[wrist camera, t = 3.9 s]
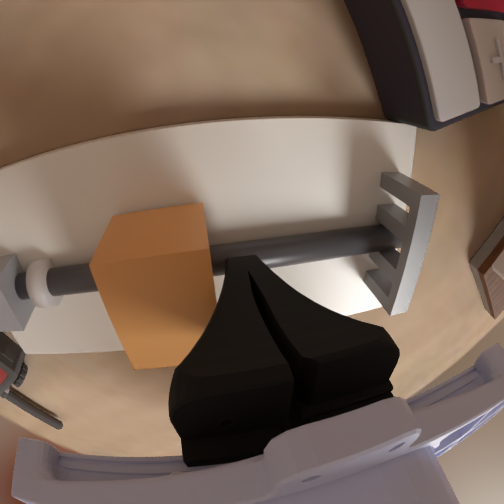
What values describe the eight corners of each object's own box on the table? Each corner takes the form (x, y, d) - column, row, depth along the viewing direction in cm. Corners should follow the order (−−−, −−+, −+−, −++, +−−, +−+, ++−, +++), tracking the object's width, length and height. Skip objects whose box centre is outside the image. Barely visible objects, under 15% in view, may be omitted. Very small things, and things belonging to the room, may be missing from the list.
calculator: (548, 91, 10) (442, 138, 10) (506, 81, 14) (383, 121, 14) (510, -46, 4) (353, -96, 4) (468, -43, 8) (308, -62, 8)
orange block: (215, 301, 15) (225, 359, 12) (140, 310, 15) (134, 369, 11) (202, 202, 12) (209, 248, 9) (112, 215, 12) (88, 265, 9)
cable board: (375, 297, 20) (405, 338, 16) (29, 344, 16) (13, 389, 12) (405, 121, 13) (460, 140, 10) (-42, 185, 10) (-86, 217, 6)
